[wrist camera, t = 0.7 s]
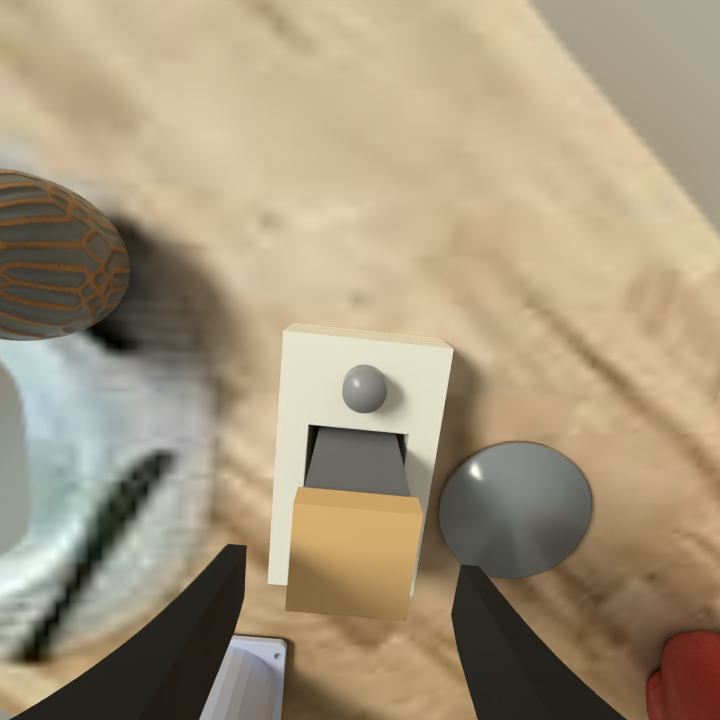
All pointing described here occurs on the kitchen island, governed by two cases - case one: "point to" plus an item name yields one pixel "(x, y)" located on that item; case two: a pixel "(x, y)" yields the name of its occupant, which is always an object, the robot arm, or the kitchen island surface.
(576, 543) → the coaster
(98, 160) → the kitchen island surface
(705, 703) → the vegetable
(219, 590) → the robot arm
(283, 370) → the switch plate
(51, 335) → the vase
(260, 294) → the kitchen island surface
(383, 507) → the plug
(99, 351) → the kitchen island surface
